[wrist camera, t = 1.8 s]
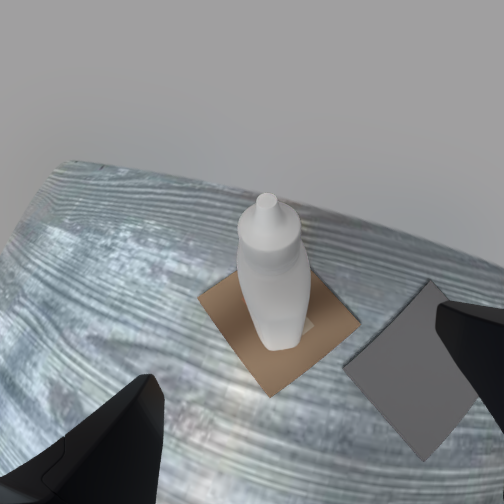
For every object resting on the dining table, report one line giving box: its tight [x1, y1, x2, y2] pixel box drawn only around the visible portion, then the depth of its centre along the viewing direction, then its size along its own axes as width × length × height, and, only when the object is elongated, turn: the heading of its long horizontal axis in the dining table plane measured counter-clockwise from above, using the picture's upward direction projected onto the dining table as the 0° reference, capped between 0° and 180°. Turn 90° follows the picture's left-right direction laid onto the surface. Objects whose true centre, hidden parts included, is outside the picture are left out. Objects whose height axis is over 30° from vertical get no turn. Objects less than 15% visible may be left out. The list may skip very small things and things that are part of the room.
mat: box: [343, 280, 479, 462], centre depth 16 cm, size 10×10×1 cm
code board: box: [197, 269, 361, 398], centre depth 20 cm, size 9×8×1 cm
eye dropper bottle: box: [237, 193, 311, 351], centre depth 15 cm, size 4×6×12 cm
